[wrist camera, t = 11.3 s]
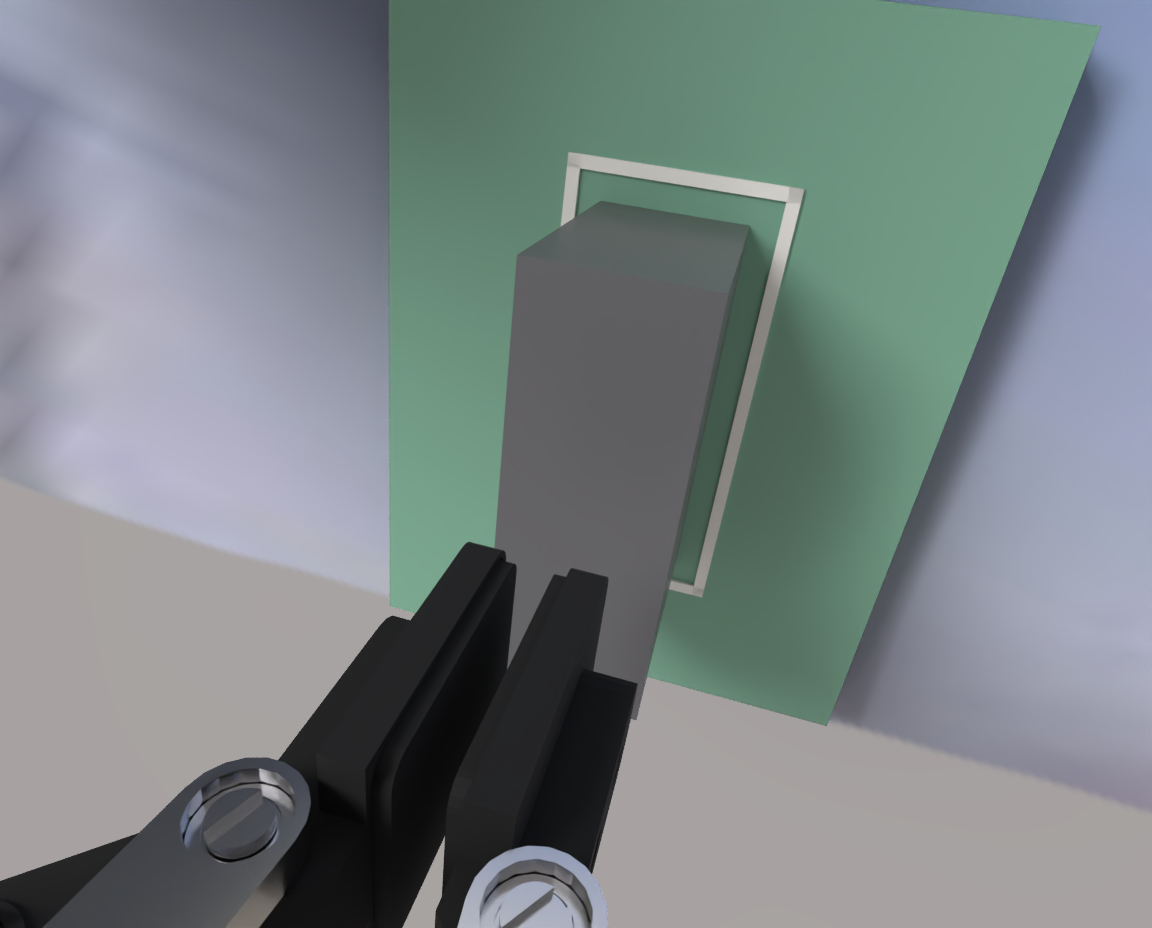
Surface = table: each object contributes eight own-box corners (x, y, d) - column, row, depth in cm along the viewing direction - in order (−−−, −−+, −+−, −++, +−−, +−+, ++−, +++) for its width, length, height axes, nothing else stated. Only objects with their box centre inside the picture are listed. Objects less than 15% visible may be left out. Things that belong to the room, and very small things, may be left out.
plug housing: (749, 225, 17) (728, 293, 12) (675, 562, 21) (636, 720, 16) (600, 200, 17) (516, 254, 12) (558, 533, 22) (484, 676, 17)
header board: (1073, 30, 15) (1178, 14, 11) (825, 688, 24) (830, 817, 20) (420, -47, 17) (303, -85, 13) (411, 578, 26) (338, 673, 22)
